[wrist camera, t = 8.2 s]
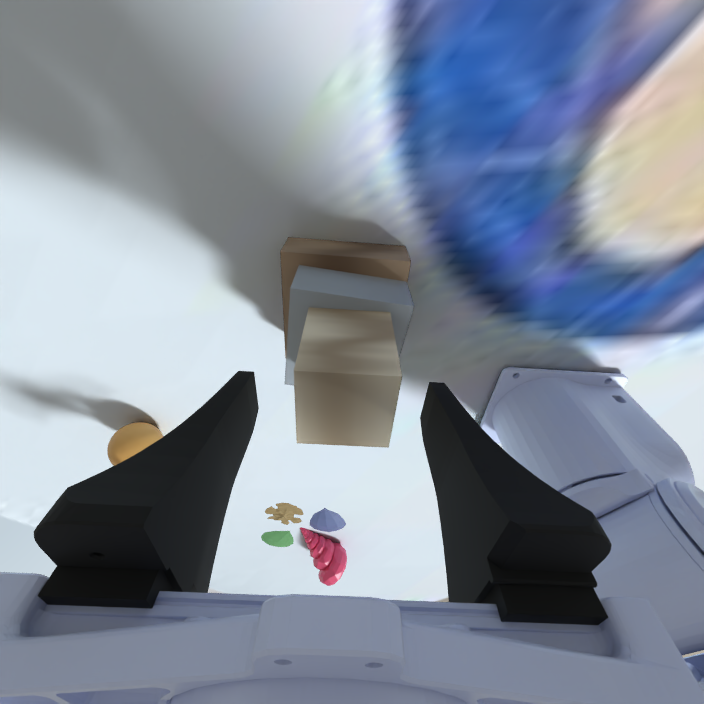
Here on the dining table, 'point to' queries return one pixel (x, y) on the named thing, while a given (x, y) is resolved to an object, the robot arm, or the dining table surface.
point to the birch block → (346, 378)
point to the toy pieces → (312, 539)
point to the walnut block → (340, 262)
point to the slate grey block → (343, 303)
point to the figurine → (131, 441)
